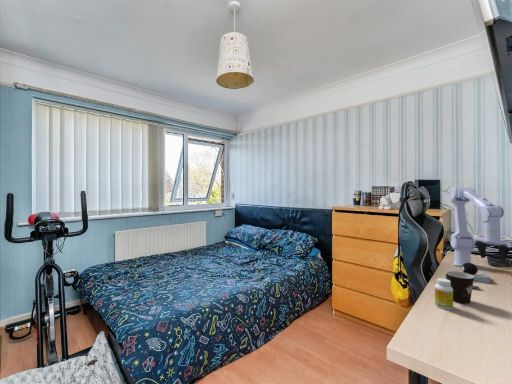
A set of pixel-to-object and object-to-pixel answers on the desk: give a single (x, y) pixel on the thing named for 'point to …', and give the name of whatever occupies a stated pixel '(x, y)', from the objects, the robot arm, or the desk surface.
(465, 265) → the billiard ball
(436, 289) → the supplement bottle
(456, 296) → the coffee mug
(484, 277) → the corral
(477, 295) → the desk surface
